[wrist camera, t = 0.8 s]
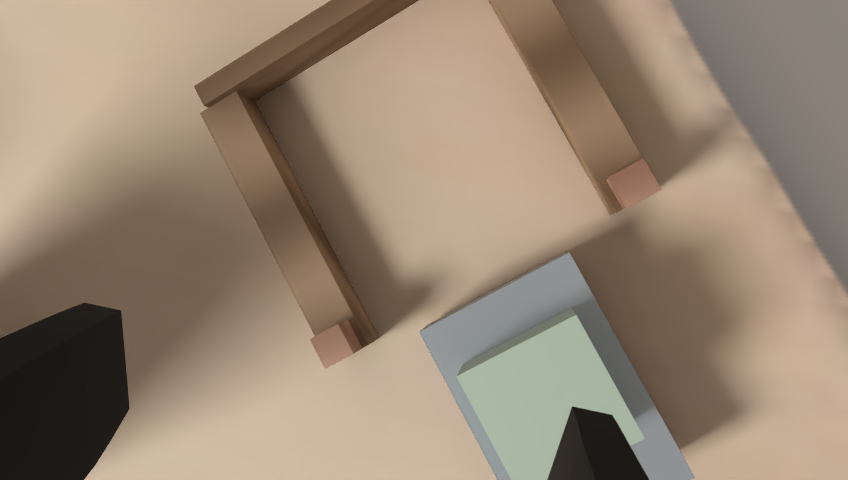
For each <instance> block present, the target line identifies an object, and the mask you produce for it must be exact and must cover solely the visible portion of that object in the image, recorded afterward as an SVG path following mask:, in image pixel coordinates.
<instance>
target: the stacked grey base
mask: <svg viewBox="0 0 848 480" xmlns="http://www.w3.org/2000/svg"><path fill="white" fill-rule="evenodd" d="M420 334H421V336H422V338H423V340H424V342H425V344H426V346H427V348H428V349H429V351H430V353H431V355H432V357H433V359H434V361H435V363H436V365H437V366H438V368H439V370H440V372H441V374H442V376H443V378H444V380H445V382H446V383H447V385H448V387H449V389H450V391H451V393H452V395H453V397H454V399H455V400H456V402H457V404H458V406H459V408H460V410H461V412H462V414H463V416H464V417H465V419H466V421H467V423H468V425H469V427H470V429H471V431H472V433H473V434H474V436H475V438H476V440H477V442H478V444H479V446H480V448H481V450H482V451H483V453H484V455H485V457H486V459H487V461H488V463H489V465H490V467H491V468H492V470H493V472H494V474H495V476H496V478H497V480H547V479H548V476H549V473H550V470H551V467H552V464H553V461H554V458H555V455H556V452H557V449H558V447H559V444H560V441H561V438H562V435H563V432H564V429H565V426H566V423H567V420H568V417H569V414H570V411H571V408H572V406H573V407H578V408H582V409H587V410H592V411H597V412H601V413H606V414H611V415H613V417H614V418H615V420H616V422H617V423H618V425H619V427H620V428H621V430H622V432H623V434H624V436H625V437H626V439H627V441H628V443H629V445H630V446H631V448H632V450H633V452H634V454H635V455H636V457H637V459H638V461H639V462H640V464H641V466H642V468H643V469H644V471H645V473H646V475H647V476H648V478H649V480H691V479H693V478H695V477H694V475H693V473H692V471H691V469H690V468H689V466H688V464H687V462H686V460H685V459H684V457H683V455H682V453H681V452H680V450H679V448H678V446H677V444H676V443H675V441H674V439H673V437H672V435H671V434H670V432H669V430H668V428H667V426H666V425H665V423H664V421H663V419H662V417H661V416H660V414H659V412H658V410H657V408H656V407H655V405H654V403H653V401H652V399H651V398H650V396H649V394H648V392H647V390H646V389H645V387H644V385H643V383H642V382H641V380H640V378H639V376H638V374H637V373H636V371H635V369H634V367H633V365H632V364H631V362H630V360H629V358H628V356H627V355H626V353H625V351H624V349H623V347H622V346H621V344H620V342H619V340H618V338H617V337H616V335H615V333H614V331H613V329H612V328H611V326H610V324H609V322H608V321H607V319H606V317H605V315H604V313H603V312H602V310H601V308H600V306H599V304H598V303H597V301H596V299H595V297H594V295H593V294H592V292H591V290H590V288H589V286H588V285H587V283H586V281H585V279H584V277H583V276H582V274H581V272H580V270H579V268H578V267H577V265H576V263H575V261H574V259H573V258H572V256H571V254H570V252H564V253H562V254H560V255H558V256H556V257H555V258H553V259H551V260H549V261H547V262H545V263H543V264H541V265H539V266H538V267H536V268H534V269H532V270H530V271H528V272H526V273H524V274H522V275H521V276H519V277H517V278H515V279H513V280H511V281H509V282H507V283H505V284H504V285H502V286H500V287H498V288H496V289H494V290H492V291H490V292H488V293H487V294H485V295H483V296H481V297H479V298H477V299H475V300H473V301H472V302H470V303H468V304H466V305H464V306H462V307H460V308H458V309H456V310H455V311H453V312H451V313H449V314H447V315H445V316H443V317H441V318H439V319H438V320H436V321H434V322H432V323H430V324H428V325H427V326H426V327H425V328H423V329H422V330H421V331H420Z"/></svg>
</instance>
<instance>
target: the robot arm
mask: <svg viewBox="0 0 848 480" xmlns="http://www.w3.org/2000/svg"><path fill="white" fill-rule="evenodd" d="M128 410H129V399H128V387H127V375H126V364H125V352H124V340H123V329H122V317H121V311H120V310H116V309H111V308H106V307H102V306H97V305H92V304H87V303H83V304H80V305H78V306H75V307H72V308H70V309H67V310H65V311H62V312H60V313H57V314H55V315H53V316H50V317H48V318H46V319H43V320H41V321H39V322H36V323H34V324H32V325H30V326H27V327H25V328H23V329H20V330H18V331H16V332H14V333H11V334H9V335H7V336H5V337H2V338H0V480H84V479H85V478H86V476H87V475H88V474H89V472H90V471H91V470H92V469H93V467H94V466H95V464H96V463H97V461H98V460H99V458H100V457H101V455H102V453H103V452H104V450H105V449H106V447H107V445H108V444H109V442H110V441H111V439H112V437H113V436H114V434H115V432H116V431H117V429H118V427H119V425H120V424H121V422H122V420H123V419H124V417H125V415H126V413H127V412H128ZM547 480H649V478H648V476H647V475H646V473H645V471H644V469H643V468H642V466H641V464H640V462H639V461H638V459H637V457H636V455H635V454H634V452H633V450H632V448H631V446H630V445H629V443H628V441H627V439H626V437H625V436H624V434H623V432H622V430H621V428H620V427H619V425H618V423H617V422H616V420H615V418H614V417H613V415H611V414H606V413H601V412H597V411H592V410H587V409H582V408H578V407H573V406H572V408H571V411H570V414H569V417H568V420H567V423H566V426H565V429H564V432H563V435H562V438H561V441H560V444H559V447H558V449H557V452H556V455H555V458H554V461H553V464H552V467H551V470H550V473H549V476H548V479H547Z"/></svg>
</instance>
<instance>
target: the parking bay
mask: <svg viewBox="0 0 848 480" xmlns="http://www.w3.org/2000/svg"><path fill="white" fill-rule="evenodd" d="M416 1H418V0H331V1H329V2H328V3H326V4H324V5H323V6H321V7H320V8H318V9H316V10H315V11H313V12H312V13H310V14H309V15H307V16H305V17H304V18H302V19H301V20H299V21H297V22H296V23H294V24H293V25H291V26H289V27H288V28H286V29H285V30H283V31H281V32H280V33H278V34H277V35H275V36H273V37H272V38H270V39H269V40H267V41H265V42H264V43H262V44H261V45H259V46H257V47H256V48H254V49H253V50H251V51H249V52H248V53H246V54H245V55H243V56H241V57H240V58H238V59H237V60H235V61H234V62H232V63H230V64H229V65H227V66H226V67H224V68H222V69H221V70H219V71H218V72H216V73H214V74H213V75H211V76H210V77H208V78H206V79H205V80H203V81H202V82H200V83H198V84H197V85H195V86H194V87H195V89H196V91H197V93H198V95H199V97H200V99H201V101H202V103H203V105H204V106H207V107H209V108H208V109H206V110H205V111H203V112H201V113H200V114H201V115H202V117H203V119H204V121H205V123H206V125H207V127H208V129H209V131H210V133H211V135H212V137H213V139H214V141H215V143H216V145H217V147H218V149H219V150H220V152H221V154H222V156H223V158H224V160H225V162H226V164H227V166H228V168H229V170H230V172H231V174H232V176H233V178H234V180H235V182H236V184H237V185H238V187H239V189H240V191H241V193H242V195H243V197H244V199H245V201H246V203H247V205H248V207H249V209H250V211H251V213H252V215H253V217H254V218H255V220H256V222H257V224H258V226H259V228H260V230H261V232H262V234H263V236H264V238H265V240H266V242H267V244H268V246H269V248H270V250H271V252H272V253H273V255H274V257H275V259H276V261H277V263H278V265H279V267H280V269H281V271H282V273H283V275H284V277H285V279H286V281H287V283H288V285H289V287H290V288H291V290H292V292H293V294H294V296H295V298H296V300H297V302H298V304H299V306H300V308H301V310H302V312H303V314H304V316H305V318H306V320H307V322H308V323H309V325H310V327H311V329H312V331H313V333H314V335H315V337H313V338H311V339H310V340H311V342H312V344H313V346H314V348H315V350H316V352H317V354H318V356H319V358H320V360H321V362H322V364H323V366H324V368H325V369H326V368H328V367H329V366H331V365H333V364H335V363H337V362H339V361H341V360H343V359H344V358H346V357H348V356H350V355H352V354H354V353H355V352H357V351H358V350H360V349H362V348H363V347H365V346H367V345H369V344H370V343H372V342H373V341H375V340H377V339H378V338H379V337H378V335H377V333H376V331H375V330H374V328H373V326H372V324H371V322H370V320H369V318H368V316H367V314H366V312H365V310H364V309H363V307H362V305H361V303H360V301H359V299H358V297H357V295H356V293H355V291H354V289H353V288H352V286H351V284H350V282H349V280H348V278H347V276H346V274H345V272H344V270H343V268H342V267H341V265H340V263H339V261H338V259H337V257H336V255H335V253H334V251H333V249H332V247H331V246H330V244H329V242H328V240H327V238H326V236H325V234H324V232H323V230H322V228H321V226H320V224H319V223H318V221H317V219H316V217H315V215H314V213H313V211H312V209H311V207H310V205H309V203H308V202H307V200H306V198H305V196H304V194H303V192H302V190H301V188H300V186H299V184H298V182H297V181H296V179H295V177H294V175H293V173H292V171H291V169H290V167H289V165H288V163H287V161H286V160H285V158H284V156H283V154H282V152H281V150H280V148H279V146H278V144H277V142H276V140H275V139H274V137H273V135H272V133H271V131H270V129H269V127H268V125H267V123H266V121H265V119H264V117H263V116H262V114H261V112H260V110H259V108H258V106H257V104H256V102H255V100H257V99H258V98H260V97H261V96H263V95H265V94H266V93H268V92H270V91H271V90H273V89H274V88H276V87H278V86H279V85H281V84H283V83H284V82H286V81H288V80H289V79H291V78H292V77H294V76H296V75H297V74H299V73H301V72H302V71H304V70H305V69H307V68H309V67H310V66H312V65H314V64H315V63H317V62H319V61H320V60H322V59H323V58H325V57H327V56H328V55H330V54H332V53H333V52H335V51H336V50H338V49H340V48H341V47H343V46H345V45H346V44H348V43H350V42H351V41H353V40H354V39H356V38H358V37H359V36H361V35H363V34H364V33H366V32H367V31H369V30H371V29H372V28H374V27H376V26H377V25H379V24H380V23H382V22H384V21H385V20H387V19H389V18H390V17H392V16H394V15H395V14H397V13H398V12H400V11H402V10H403V9H405V8H407V7H408V6H410V5H411V4H413V3H415V2H416ZM489 2H490V4H491V5H492V7H493V9H494V11H495V12H496V14H497V16H498V18H499V19H500V21H501V23H502V25H503V27H504V28H505V30H506V32H507V34H508V35H509V37H510V39H511V41H512V42H513V44H514V46H515V48H516V49H517V51H518V53H519V55H520V57H521V58H522V60H523V62H524V64H525V65H526V67H527V69H528V71H529V72H530V74H531V76H532V78H533V79H534V81H535V83H536V85H537V87H538V88H539V90H540V92H541V94H542V95H543V97H544V99H545V101H546V102H547V104H548V106H549V108H550V110H551V111H552V113H553V115H554V117H555V118H556V120H557V122H558V124H559V125H560V127H561V129H562V131H563V132H564V134H565V136H566V138H567V140H568V141H569V143H570V145H571V147H572V148H573V150H574V152H575V154H576V155H577V157H578V159H579V161H580V163H581V164H582V166H583V168H584V170H585V171H586V173H587V175H588V177H589V178H590V180H591V182H592V184H593V185H594V187H595V189H596V191H597V193H598V194H599V196H600V198H601V200H602V201H603V203H604V205H605V207H606V208H607V210H608V212H609V214H610V215H611V214H614V213H617V212H618V211H620V210H622V209H625V208H628V207H630V206H632V205H634V204H635V203H637V202H639V201H641V200H643V199H645V198H647V197H649V196H650V195H652V194H654V193H656V192H658V191H660V190H662V189H661V188H660V186H659V184H658V182H657V181H656V179H655V177H654V175H653V174H652V172H651V170H650V169H649V167H648V165H647V163H646V162H645V160H644V158H643V157H642V156H641V154H640V152H639V150H638V149H637V147H636V145H635V143H634V142H633V140H632V138H631V137H630V135H629V133H628V131H627V130H626V128H625V126H624V124H623V123H622V121H621V119H620V117H619V116H618V114H617V112H616V110H615V109H614V107H613V105H612V104H611V102H610V100H609V98H608V97H607V95H606V93H605V91H604V90H603V88H602V86H601V84H600V83H599V81H598V79H597V77H596V76H595V74H594V72H593V71H592V69H591V67H590V65H589V64H588V62H587V60H586V58H585V57H584V55H583V53H582V51H581V50H580V48H579V46H578V44H577V43H576V41H575V39H574V38H573V36H572V34H571V32H570V31H569V29H568V27H567V25H566V24H565V22H564V20H563V18H562V17H561V15H560V13H559V11H558V10H557V8H556V6H555V5H554V3H553V1H552V0H489Z"/></svg>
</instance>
